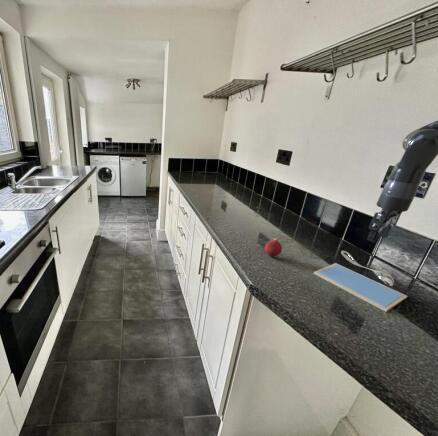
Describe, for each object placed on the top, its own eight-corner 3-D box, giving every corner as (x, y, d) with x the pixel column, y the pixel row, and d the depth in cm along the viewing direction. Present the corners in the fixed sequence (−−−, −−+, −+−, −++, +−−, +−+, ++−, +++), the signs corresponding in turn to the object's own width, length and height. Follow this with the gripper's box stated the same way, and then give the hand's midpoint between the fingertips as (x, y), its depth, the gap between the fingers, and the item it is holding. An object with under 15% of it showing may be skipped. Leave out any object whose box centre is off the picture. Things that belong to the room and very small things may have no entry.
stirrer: (339, 246, 93) (350, 246, 94) (335, 253, 95) (346, 253, 95) (388, 279, 75) (401, 279, 76) (382, 288, 77) (395, 288, 77)
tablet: (334, 264, 88) (335, 262, 87) (406, 298, 71) (408, 295, 71) (313, 273, 82) (314, 271, 82) (386, 312, 65) (387, 309, 65)
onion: (274, 262, 88) (279, 243, 85) (260, 255, 92) (264, 237, 89) (281, 257, 91) (287, 239, 88) (267, 251, 95) (272, 234, 92)
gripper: (403, 200, 69) (380, 247, 75) (422, 195, 75) (399, 239, 81) (372, 193, 75) (353, 237, 81) (391, 189, 81) (372, 231, 87)
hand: (376, 238), depth 81 cm, fingers open, 8 cm apart
